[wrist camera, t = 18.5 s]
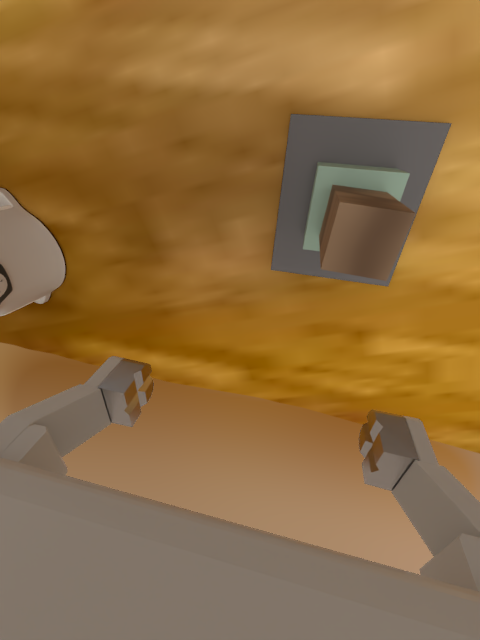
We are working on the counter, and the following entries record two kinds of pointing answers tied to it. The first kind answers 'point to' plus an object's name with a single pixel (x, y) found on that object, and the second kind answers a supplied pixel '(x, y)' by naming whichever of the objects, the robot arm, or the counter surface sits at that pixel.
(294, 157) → the mat
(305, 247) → the sage brick
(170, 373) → the counter surface
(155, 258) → the counter surface
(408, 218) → the walnut block
